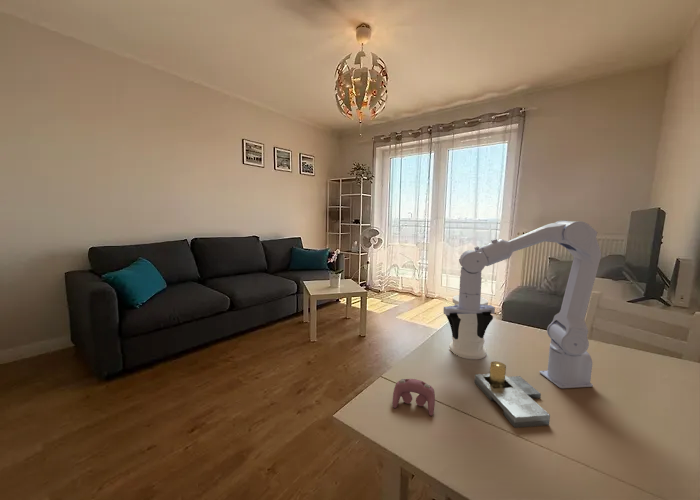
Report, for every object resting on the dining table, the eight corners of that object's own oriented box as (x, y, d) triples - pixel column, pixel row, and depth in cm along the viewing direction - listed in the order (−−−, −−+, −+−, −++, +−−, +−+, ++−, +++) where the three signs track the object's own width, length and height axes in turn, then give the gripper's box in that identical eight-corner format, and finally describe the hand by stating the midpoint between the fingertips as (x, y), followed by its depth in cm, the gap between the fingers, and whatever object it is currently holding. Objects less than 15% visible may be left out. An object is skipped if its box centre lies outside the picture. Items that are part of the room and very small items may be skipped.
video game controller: (434, 413, 70) (436, 382, 72) (434, 417, 66) (435, 383, 68) (393, 405, 73) (396, 375, 76) (390, 408, 69) (393, 376, 72)
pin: (500, 386, 79) (502, 361, 78) (506, 394, 75) (508, 368, 74) (486, 385, 79) (488, 361, 78) (492, 393, 75) (494, 368, 74)
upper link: (502, 381, 81) (503, 372, 81) (549, 425, 64) (550, 415, 64) (474, 382, 80) (475, 374, 80) (514, 427, 64) (515, 417, 63)
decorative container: (488, 348, 101) (491, 297, 98) (483, 362, 91) (486, 306, 89) (453, 340, 107) (456, 292, 104) (445, 353, 97) (447, 300, 95)
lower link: (519, 380, 82) (519, 376, 81) (540, 398, 74) (540, 393, 73) (474, 382, 80) (474, 378, 80) (491, 401, 72) (491, 396, 72)
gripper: (486, 288, 89) (483, 330, 91) (440, 289, 88) (438, 332, 89) (500, 294, 82) (497, 340, 84) (450, 295, 81) (448, 342, 82)
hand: (467, 337), depth 86 cm, fingers open, 7 cm apart
